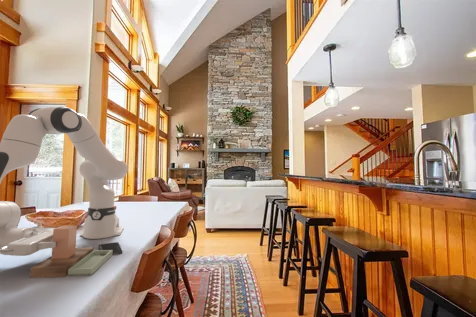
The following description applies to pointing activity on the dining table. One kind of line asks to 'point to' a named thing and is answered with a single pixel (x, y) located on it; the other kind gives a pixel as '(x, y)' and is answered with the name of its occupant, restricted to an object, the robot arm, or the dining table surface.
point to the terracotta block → (64, 242)
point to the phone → (111, 248)
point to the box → (90, 263)
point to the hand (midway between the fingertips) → (64, 240)
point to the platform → (59, 264)
